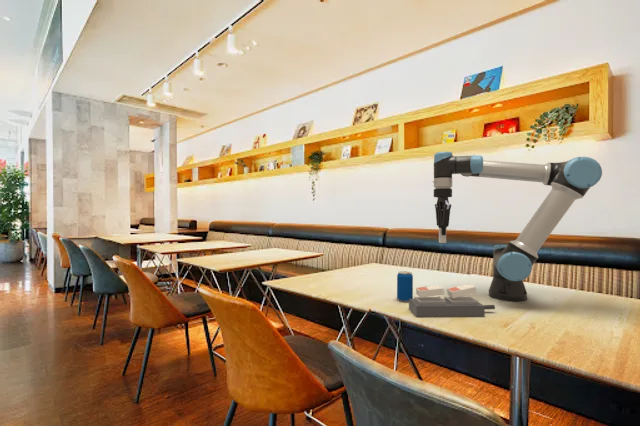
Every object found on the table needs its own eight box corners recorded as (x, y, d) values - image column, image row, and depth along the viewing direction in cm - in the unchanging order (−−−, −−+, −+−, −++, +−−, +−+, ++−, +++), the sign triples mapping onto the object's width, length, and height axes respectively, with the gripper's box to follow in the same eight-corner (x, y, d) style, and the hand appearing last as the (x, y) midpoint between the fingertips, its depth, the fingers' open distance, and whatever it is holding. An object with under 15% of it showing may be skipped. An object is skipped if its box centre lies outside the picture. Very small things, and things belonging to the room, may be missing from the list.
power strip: (487, 308, 139) (487, 295, 139) (500, 316, 129) (500, 302, 129) (408, 308, 138) (409, 295, 138) (416, 317, 128) (416, 302, 128)
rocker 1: (439, 291, 136) (438, 284, 136) (444, 294, 131) (443, 287, 131) (416, 294, 136) (415, 287, 136) (420, 297, 131) (419, 290, 131)
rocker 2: (470, 290, 136) (469, 283, 136) (476, 293, 131) (475, 286, 131) (447, 294, 136) (446, 288, 136) (453, 298, 131) (451, 291, 131)
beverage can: (413, 303, 147) (413, 274, 146) (397, 302, 148) (397, 273, 148) (412, 298, 153) (412, 271, 153) (396, 298, 154) (397, 270, 154)
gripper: (429, 188, 159) (428, 241, 159) (439, 187, 146) (439, 244, 146) (445, 188, 159) (445, 241, 160) (457, 187, 146) (457, 244, 147)
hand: (442, 242), depth 153 cm, fingers closed
